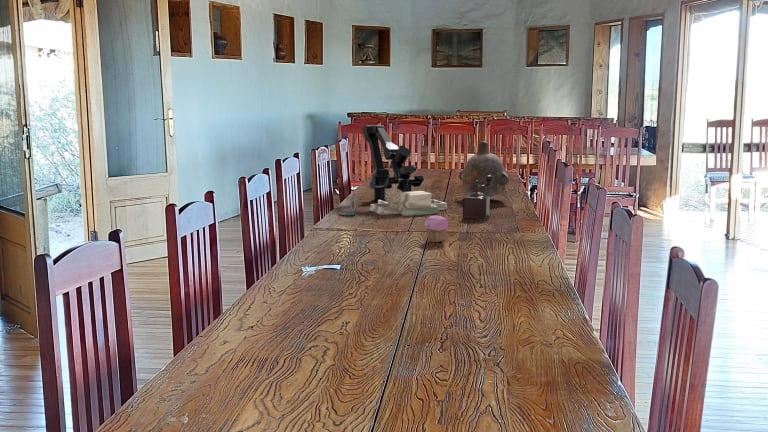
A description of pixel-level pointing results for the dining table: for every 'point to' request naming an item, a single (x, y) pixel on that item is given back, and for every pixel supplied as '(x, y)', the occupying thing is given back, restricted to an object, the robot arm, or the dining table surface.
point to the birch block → (415, 199)
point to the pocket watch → (352, 204)
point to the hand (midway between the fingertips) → (410, 196)
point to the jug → (484, 172)
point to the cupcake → (436, 228)
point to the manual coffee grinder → (477, 202)
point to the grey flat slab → (385, 209)
